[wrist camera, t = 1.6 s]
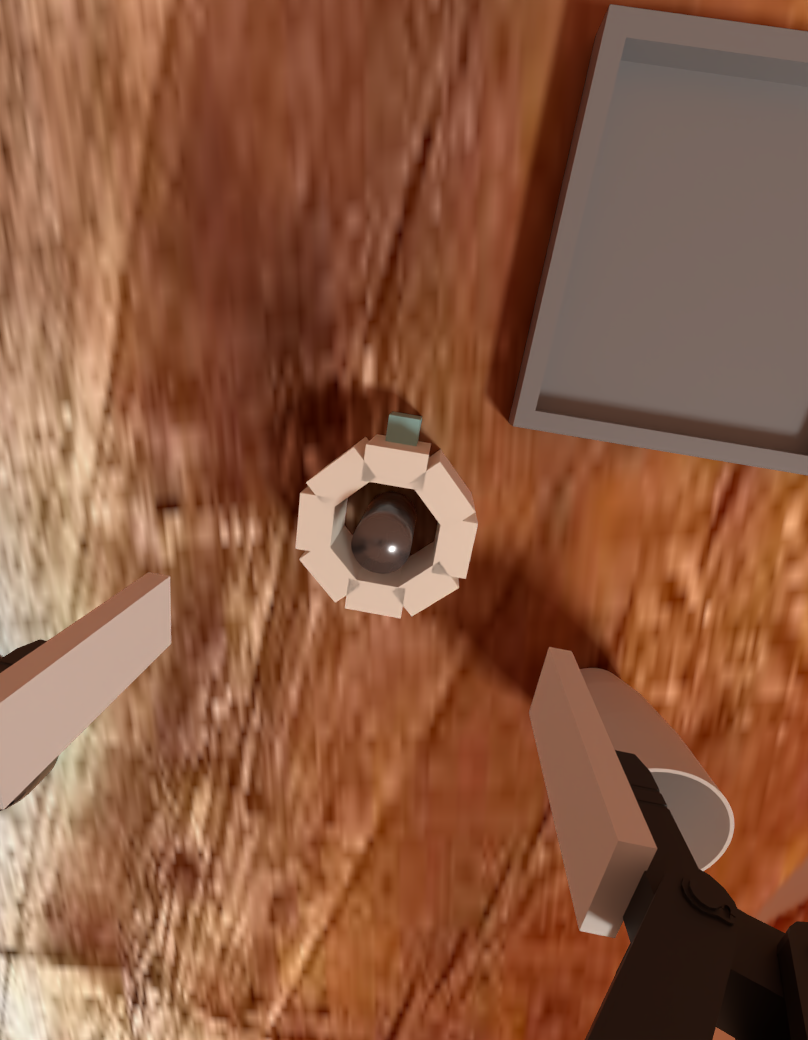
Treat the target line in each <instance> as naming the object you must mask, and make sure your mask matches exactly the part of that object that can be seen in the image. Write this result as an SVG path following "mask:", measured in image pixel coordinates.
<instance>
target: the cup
mask: <svg viewBox="0 0 808 1040" xmlns="http://www.w3.org/2000/svg"><path fill="white" fill-rule="evenodd" d="M580 671H581V674H582V676H583V678H584V680H585V683H586V685H587V687H588V690H589V692H590V694H591V697H592V699H593V701H594V703H595V706H596V708H597V710H598V713H599V715H600V717H601V720H602V722H603V724H604V727H605V729H606V731H607V733H608V736H609V738H610V740H611V743H612V745H613V747H614V750H617V751H622V752H627V753H632V754H635V755H636V756H637V757H638V758H639V759H640V760H641V762H642V763H643V764H644V765H645V766H646V767H647V768H648V769H649V770H650V772H651V774H652V776H653V778H654V780H655V782H656V784H657V786H658V788H659V790H660V791H659V792H660V793H661V794H662V796H663V798H664V800H665V802H666V804H667V809H669V810H670V812H671V814H672V816H673V818H674V820H675V822H676V824H677V826H678V828H679V830H680V832H681V834H682V836H683V838H684V840H685V842H686V844H687V846H688V848H689V850H690V852H691V854H692V856H693V858H694V860H695V862H696V864H697V866H698V868H699V869H700V870H702V871H704V870H706V869H707V868H709V867H710V866H711V865H713V864H714V863H715V862H716V861H717V860H718V859H719V858H720V857H721V856H722V855H723V853H724V852H725V851H726V849H727V847H728V846H729V844H730V842H731V839H732V836H733V832H734V817H733V812H732V809H731V807H730V805H729V803H728V801H727V800H726V798H725V797H724V796H723V794H722V793H721V791H720V790H719V789H718V787H717V786H716V785H715V783H714V782H713V781H712V779H711V778H710V777H709V775H708V774H707V773H706V771H705V770H704V769H703V767H702V766H701V765H700V763H699V762H698V761H697V759H696V758H695V757H694V755H693V754H692V752H691V751H690V750H689V748H688V747H687V746H686V744H685V743H684V742H683V740H682V739H681V738H680V736H679V735H678V734H677V733H676V732H675V730H674V729H673V728H672V727H671V726H670V725H669V724H668V723H667V722H666V721H665V720H664V719H663V718H662V717H661V716H660V714H659V713H658V712H657V711H656V710H655V709H654V708H653V707H652V706H651V705H650V704H649V703H648V702H647V701H646V700H645V698H644V697H643V696H642V695H641V694H639V693H638V692H637V691H636V690H634V689H633V688H632V687H630V686H629V685H628V684H626V683H625V682H624V681H622V680H621V679H620V678H618V677H617V676H616V675H614V674H613V673H611V672H609V671H607V670H604V669H600V668H583V669H580Z"/></svg>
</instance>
